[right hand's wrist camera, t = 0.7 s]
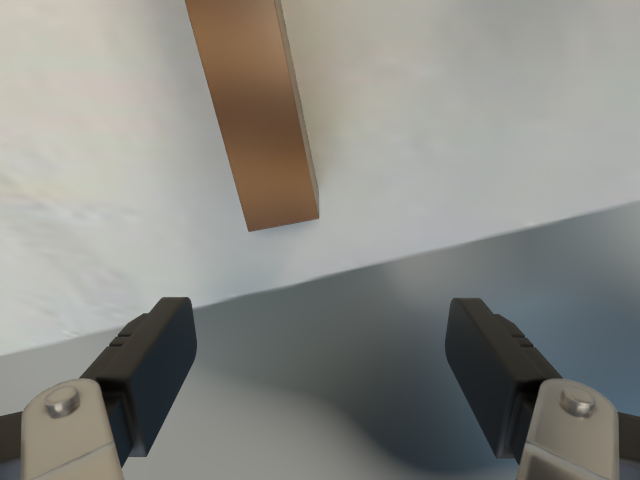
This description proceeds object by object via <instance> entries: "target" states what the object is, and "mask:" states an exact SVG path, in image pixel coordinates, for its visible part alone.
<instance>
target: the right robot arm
mask: <svg viewBox="0 0 640 480" xmlns="http://www.w3.org/2000/svg"><path fill="white" fill-rule="evenodd" d="M196 350H197V339H196V332H195V325H194V317H193V310H192V304H191V300H190V299H189V298H188V297H163V298H161V299H160V300H159V302H158V303H157V304H156V305H155V306H154V308H153V309H152V310H151V311H150V312H149V313H144V314H142V315H140V316H139V317H137V318H136V319H134V320H132V321H131V322H129V323H128V324H127V325H126V326H125V327H124V328H123V329H122V331H121V332H120V333H119V334H118V337H115V339H114V340H113V341H112V342H111V343H110V344H109V347H106V349H105V350H104V351H103V352H102V353H101V354H100V355H99V356H98V358H97V359H96V360H95V361H94V362H93V363H92V364H91V366H90V367H89V368H88V369H87V370H86V371H85V372H84V373H83V375H82V376H81V377H80V378H79V379H73V380H69V381H65V382H62V383H59V384H57V385H54V386H52V387H50V388H48V389H46V390H45V391H43V392H41V393H40V394H38V395H37V396H36V397H35V398H33V399H32V400H31V401H30V402H29V403H28V404H27V406H26V407H25V409H24V411H22V412H17V413H13V414H8V415H4V416H0V480H124V477H123V473H122V467H123V465H124V463H125V461H126V460H127V458H128V457H147V455H148V453H149V451H150V449H151V447H152V445H153V443H154V441H155V439H156V437H157V435H158V433H159V431H160V429H161V427H162V425H163V423H164V420H165V418H166V416H167V414H168V412H169V410H170V408H171V406H172V404H173V402H174V400H175V398H176V396H177V394H178V392H179V390H180V388H181V386H182V384H183V382H184V380H185V378H186V376H187V374H188V372H189V370H190V368H191V366H192V364H193V362H194V359H195V356H196ZM445 351H446V357H447V360H448V363H449V365H450V367H451V369H452V371H453V373H454V375H455V377H456V379H457V381H458V383H459V385H460V387H461V389H462V391H463V393H464V395H465V397H466V399H467V401H468V403H469V405H470V407H471V409H472V411H473V413H474V415H475V417H476V419H477V421H478V423H479V425H480V427H481V429H482V430H483V433H484V435H485V437H486V439H487V441H488V443H489V445H490V447H491V448H492V450H493V453H494V455H495V456H496V458H515V459H516V461H517V463H518V465H519V469H518V473H517V477H516V480H640V417H638V416H634V415H629V414H625V413H620V412H617V411H616V409H615V407H614V406H613V404H612V403H611V402H610V401H609V400H608V399H607V398H605V397H604V396H603V395H602V394H600V393H599V392H597V391H595V390H594V389H592V388H590V387H588V386H586V385H583V384H581V383H578V382H575V381H572V380H567V379H563V378H562V377H561V375H560V374H559V373H558V372H557V371H556V370H555V369H554V368H553V366H552V365H551V364H550V363H549V362H548V361H547V360H546V359H545V358H544V356H543V355H542V354H541V353H540V352H539V351H538V350H537V349H536V348H534V347H533V344H532V343H531V342H530V341H529V340H528V339H527V338H525V335H524V334H523V333H522V332H521V331H520V330H519V329H518V327H517V326H516V325H515V324H514V323H512V322H510V321H509V320H507V319H506V318H504V317H502V316H501V315H499V314H493V313H492V312H491V310H490V309H489V308H488V307H487V306H486V304H485V303H484V302H483V301H482V300H481V299H480V298H453V299H452V301H451V304H450V310H449V318H448V325H447V332H446V339H445Z"/></svg>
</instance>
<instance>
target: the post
mask: <svg viewBox="0 0 640 480" xmlns="http://www.w3.org/2000/svg"><path fill="white" fill-rule="evenodd" d="M185 3H186V7H187V11H188V14H189V18H190V22H191V25H192V29H193V32H194V36H195V40H196V43H197V47H198V50H199V54H200V58H201V61H202V65H203V69H204V72H205V76H206V79H207V83H208V87H209V90H210V94H211V98H212V101H213V105H214V108H215V112H216V116H217V119H218V123H219V127H220V130H221V134H222V137H223V141H224V145H225V148H226V152H227V155H228V159H229V163H230V166H231V170H232V174H233V177H234V181H235V184H236V188H237V192H238V195H239V199H240V203H241V206H242V210H243V213H244V217H245V221H246V224H247V228H248V231H249V232H251V231H256V230H262V229H267V228H272V227H278V226H283V225H288V224H293V223H299V222H304V221H309V220H314V219H319V192H318V187H317V182H316V177H315V172H314V167H313V162H312V157H311V152H310V147H309V142H308V137H307V132H306V127H305V122H304V117H303V112H302V107H301V102H300V97H299V92H298V87H297V82H296V77H295V72H294V67H293V62H292V57H291V52H290V47H289V42H288V37H287V32H286V27H285V22H284V17H283V12H282V7H281V2H280V0H185Z"/></svg>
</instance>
